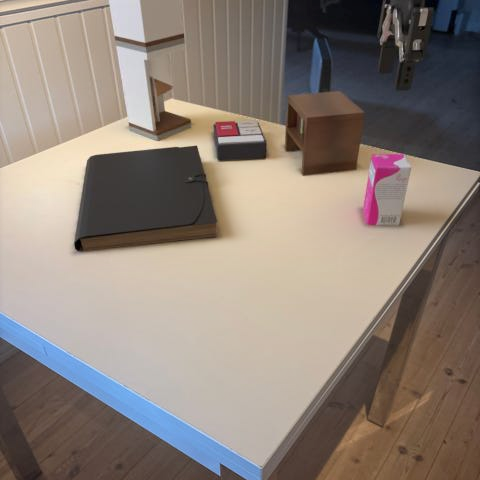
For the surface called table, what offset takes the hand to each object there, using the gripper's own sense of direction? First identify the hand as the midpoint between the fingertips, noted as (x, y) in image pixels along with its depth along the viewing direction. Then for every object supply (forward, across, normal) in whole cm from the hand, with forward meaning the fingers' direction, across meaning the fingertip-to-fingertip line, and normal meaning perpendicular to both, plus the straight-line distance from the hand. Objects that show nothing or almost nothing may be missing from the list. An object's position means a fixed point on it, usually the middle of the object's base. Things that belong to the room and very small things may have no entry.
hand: (392, 80), depth 73 cm
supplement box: (+24, -1, -2) cm, 24 cm away
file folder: (+24, +10, +41) cm, 49 cm away
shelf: (+24, +27, +4) cm, 36 cm away
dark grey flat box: (+24, +35, +21) cm, 48 cm away
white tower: (+24, +49, +40) cm, 68 cm away
